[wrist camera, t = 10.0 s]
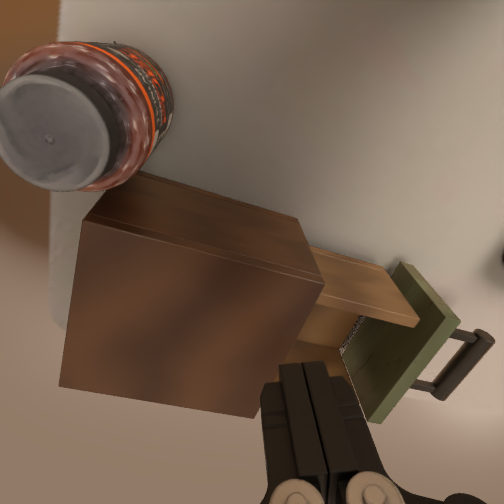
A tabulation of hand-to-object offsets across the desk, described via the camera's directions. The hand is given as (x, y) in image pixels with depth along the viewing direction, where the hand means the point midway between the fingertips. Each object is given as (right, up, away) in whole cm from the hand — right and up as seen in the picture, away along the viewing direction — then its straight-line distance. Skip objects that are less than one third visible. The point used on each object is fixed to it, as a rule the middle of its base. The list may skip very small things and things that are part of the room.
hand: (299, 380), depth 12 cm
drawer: (+7, 0, +18) cm, 20 cm away
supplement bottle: (-9, +14, +10) cm, 20 cm away
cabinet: (-6, +4, +16) cm, 18 cm away
